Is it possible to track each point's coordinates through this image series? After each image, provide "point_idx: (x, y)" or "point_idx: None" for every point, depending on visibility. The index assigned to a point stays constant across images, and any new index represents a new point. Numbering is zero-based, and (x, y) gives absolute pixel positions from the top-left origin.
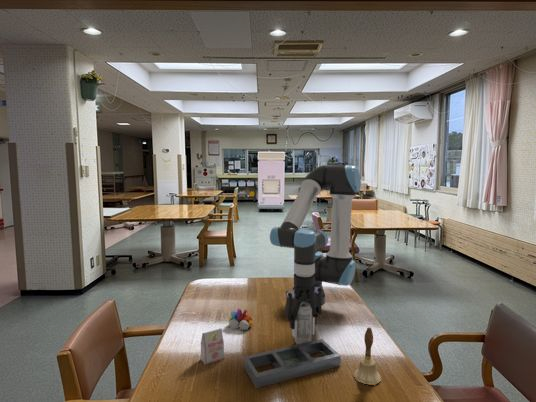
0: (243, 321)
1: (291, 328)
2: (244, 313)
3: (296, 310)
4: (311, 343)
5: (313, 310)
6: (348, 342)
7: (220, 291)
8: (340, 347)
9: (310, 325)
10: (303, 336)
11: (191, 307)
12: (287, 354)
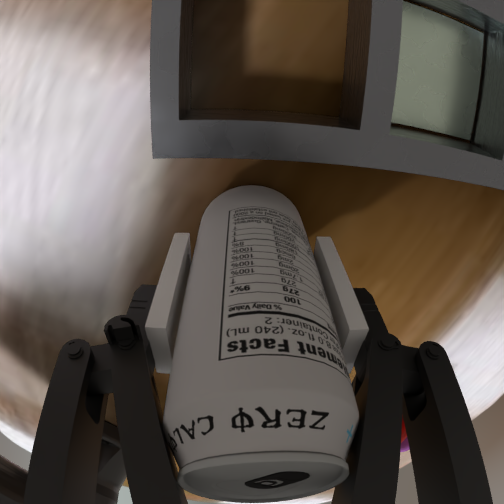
0: None
1: (364, 296)
2: (405, 434)
3: (387, 425)
4: (266, 131)
5: (145, 395)
6: (12, 149)
7: None
8: (64, 113)
9: (217, 265)
10: (285, 219)
11: (409, 454)
12: (435, 138)
